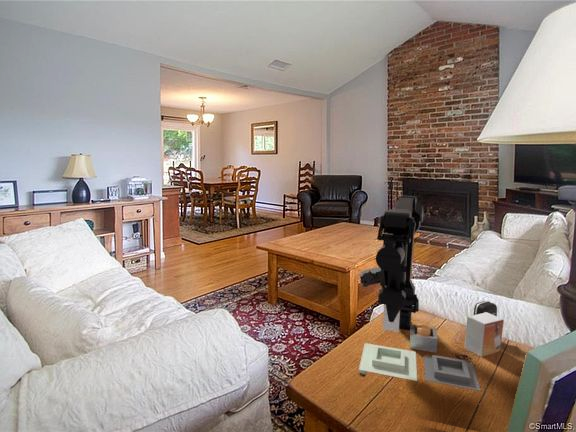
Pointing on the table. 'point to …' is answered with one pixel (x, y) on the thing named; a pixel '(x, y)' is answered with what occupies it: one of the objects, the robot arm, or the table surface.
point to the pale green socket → (388, 361)
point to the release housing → (423, 340)
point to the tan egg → (423, 330)
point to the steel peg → (390, 325)
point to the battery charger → (485, 308)
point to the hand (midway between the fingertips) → (391, 318)
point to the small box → (483, 334)
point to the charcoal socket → (450, 372)
